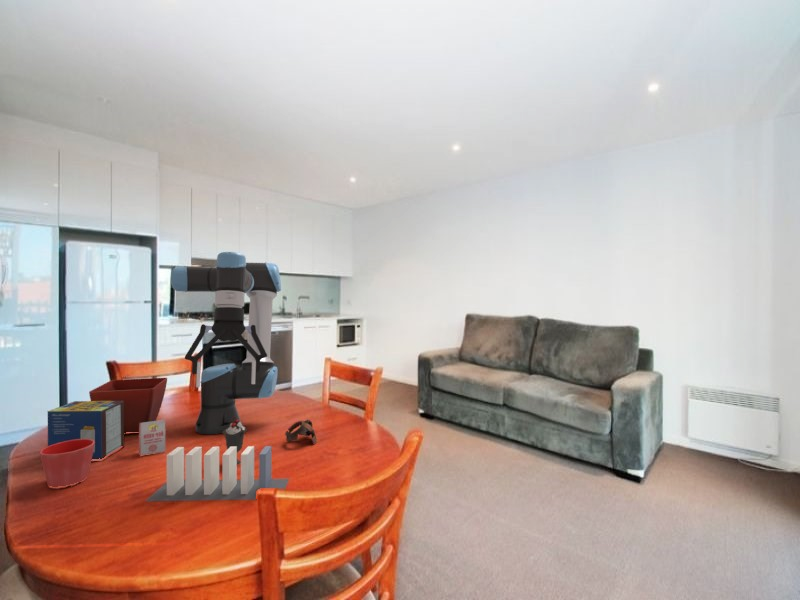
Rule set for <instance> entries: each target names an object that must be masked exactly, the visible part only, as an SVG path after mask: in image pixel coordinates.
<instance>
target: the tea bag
mask: <svg viewBox="0 0 800 600" xmlns="http://www.w3.org/2000/svg"><path fill="white" fill-rule="evenodd" d="M161 452H165V453H166V419H158V420H156V421H151V422H144V423H139V434H138V456H139V455H146V454H153V453H160V454H162V453H161Z"/></svg>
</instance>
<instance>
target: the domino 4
mask: <svg viewBox="0 0 800 600" xmlns="http://www.w3.org/2000/svg"><path fill="white" fill-rule="evenodd" d="M221 458H222V461H221V462H222V477H221V478H222V479H221V480H222V494H230V492H231V491H232V490H233V488H234V487H235V486H236V484H237V479H238V474H237V473H238V469H237V468H238V465H237V459H238V453H237V446H231V447H230V448H229V449H228V450H227V449H226V450H225V452H224V453H223V454H222V457H221Z"/></svg>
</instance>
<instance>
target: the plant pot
mask: <svg viewBox="0 0 800 600" xmlns="http://www.w3.org/2000/svg"><path fill="white" fill-rule="evenodd" d="M167 382H168V377H149V378H130V379H129V378H126V379H125V378H124V379H111V380H109V381H107V382H105V383H103V384H102V385H100V386H97V387H95V388H93V389H92V390H89V393H88V394H89V399H90V400H89V401H123V408H124V409H123V411H124V433H126V432H139V423H144V422H151V421H157V419H158V417H159V413H160V411H161V408H162V404H163V402H164V397H165V394H166V388H167V384H168V383H167Z"/></svg>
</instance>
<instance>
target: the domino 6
mask: <svg viewBox="0 0 800 600" xmlns="http://www.w3.org/2000/svg"><path fill="white" fill-rule="evenodd" d="M272 455H273V453H272V445H265V446H264V447H263V448H262V450H261V451H260V453H259V457H258V462H259V463H258V479H259V489H260V488H269V487H270V485H271V479H272V468H273V467H272V463H273V462H272V459H273V458H272Z"/></svg>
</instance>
